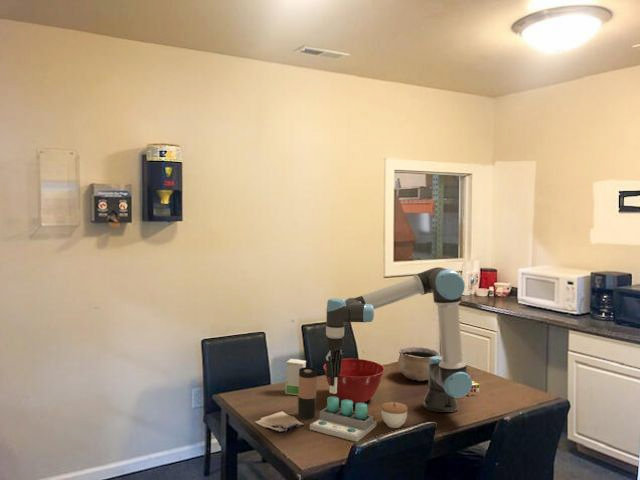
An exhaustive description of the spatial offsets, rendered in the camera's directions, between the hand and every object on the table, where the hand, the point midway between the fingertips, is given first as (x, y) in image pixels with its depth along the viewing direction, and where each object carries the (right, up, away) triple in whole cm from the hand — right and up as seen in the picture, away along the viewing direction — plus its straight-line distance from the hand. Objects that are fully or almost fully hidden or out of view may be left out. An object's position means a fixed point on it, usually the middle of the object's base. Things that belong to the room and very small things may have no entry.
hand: (333, 392), depth 220 cm
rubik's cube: (+69, -13, +41) cm, 81 cm away
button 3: (0, -7, 0) cm, 7 cm away
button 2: (+5, -8, -3) cm, 10 cm away
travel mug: (-11, -12, +7) cm, 18 cm away
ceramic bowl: (+47, -11, +63) cm, 80 cm away
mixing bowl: (+10, -12, +29) cm, 33 cm away
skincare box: (-17, -11, +36) cm, 41 cm away
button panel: (+4, -13, -5) cm, 14 cm away
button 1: (+11, -8, -6) cm, 15 cm away
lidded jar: (+25, -14, 0) cm, 29 cm away
